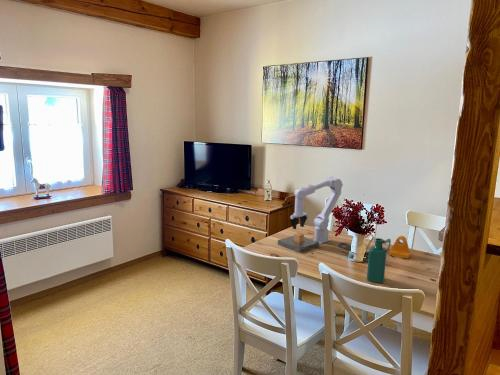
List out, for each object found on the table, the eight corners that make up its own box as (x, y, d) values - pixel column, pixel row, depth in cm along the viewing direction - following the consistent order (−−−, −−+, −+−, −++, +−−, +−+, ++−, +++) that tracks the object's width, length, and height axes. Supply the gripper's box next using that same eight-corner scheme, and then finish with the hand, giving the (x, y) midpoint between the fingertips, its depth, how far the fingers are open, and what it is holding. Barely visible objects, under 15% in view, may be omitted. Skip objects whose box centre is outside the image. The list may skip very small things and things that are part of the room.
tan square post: (297, 244, 249) (298, 232, 247) (303, 245, 245) (303, 234, 244) (293, 245, 246) (294, 233, 244) (298, 247, 242) (299, 235, 241)
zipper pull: (341, 241, 236) (382, 250, 222) (340, 251, 237) (381, 261, 223) (335, 245, 229) (377, 254, 215) (334, 255, 230) (376, 265, 216)
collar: (297, 239, 259) (297, 234, 258) (318, 246, 245) (319, 242, 244) (277, 244, 246) (277, 240, 246) (299, 252, 233) (299, 248, 232)
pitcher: (366, 281, 195) (369, 240, 191) (367, 275, 203) (371, 235, 199) (386, 284, 192) (390, 242, 187) (386, 278, 199) (390, 238, 195)
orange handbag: (388, 255, 232) (390, 237, 230) (391, 252, 238) (393, 234, 236) (407, 259, 227) (409, 240, 225) (409, 256, 233) (411, 237, 231)
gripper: (301, 204, 254) (300, 224, 256) (287, 208, 244) (286, 228, 247) (310, 207, 249) (308, 227, 251) (295, 210, 239) (294, 231, 242)
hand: (298, 227), depth 249 cm, fingers open, 7 cm apart
